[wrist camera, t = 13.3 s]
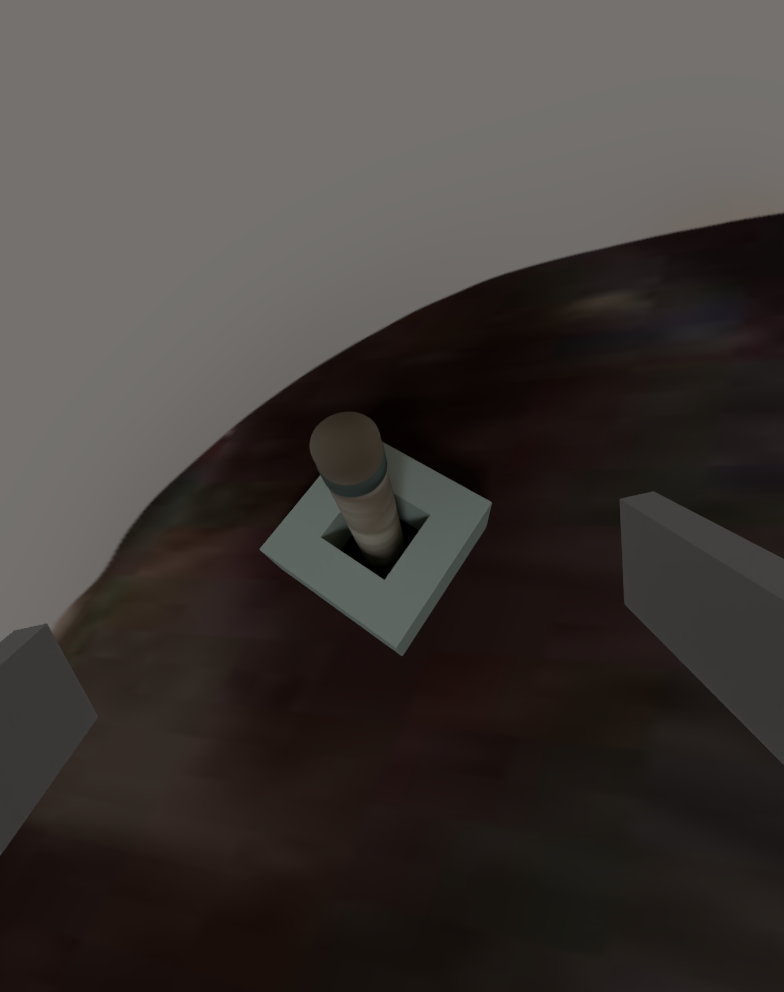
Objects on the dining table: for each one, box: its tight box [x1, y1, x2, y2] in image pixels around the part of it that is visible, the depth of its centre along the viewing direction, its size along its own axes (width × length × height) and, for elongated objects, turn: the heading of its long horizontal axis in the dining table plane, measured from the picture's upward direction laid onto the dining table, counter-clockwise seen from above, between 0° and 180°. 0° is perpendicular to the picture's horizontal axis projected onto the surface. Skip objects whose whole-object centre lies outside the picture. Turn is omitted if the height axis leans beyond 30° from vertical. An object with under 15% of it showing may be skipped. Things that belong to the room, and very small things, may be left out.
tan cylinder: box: [310, 412, 405, 569], centre depth 27 cm, size 3×3×15 cm
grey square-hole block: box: [260, 442, 492, 656], centre depth 32 cm, size 11×11×4 cm
